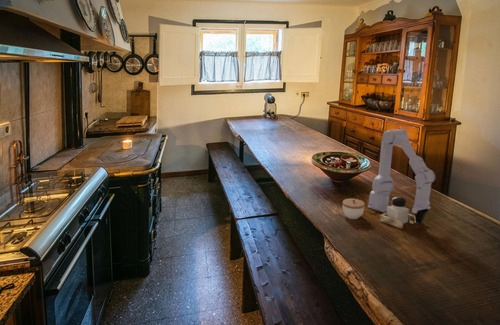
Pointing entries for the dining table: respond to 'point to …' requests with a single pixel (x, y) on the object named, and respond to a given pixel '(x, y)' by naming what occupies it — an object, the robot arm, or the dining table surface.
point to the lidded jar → (353, 208)
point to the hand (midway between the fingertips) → (418, 222)
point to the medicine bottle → (398, 210)
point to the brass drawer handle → (412, 219)
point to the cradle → (393, 220)
